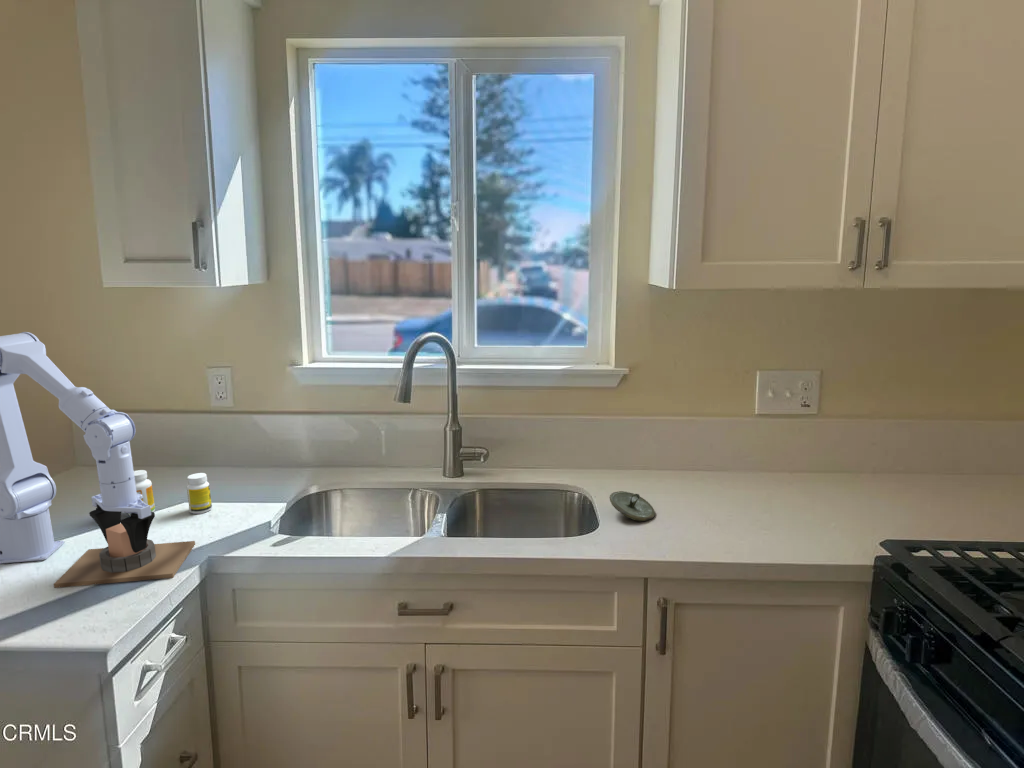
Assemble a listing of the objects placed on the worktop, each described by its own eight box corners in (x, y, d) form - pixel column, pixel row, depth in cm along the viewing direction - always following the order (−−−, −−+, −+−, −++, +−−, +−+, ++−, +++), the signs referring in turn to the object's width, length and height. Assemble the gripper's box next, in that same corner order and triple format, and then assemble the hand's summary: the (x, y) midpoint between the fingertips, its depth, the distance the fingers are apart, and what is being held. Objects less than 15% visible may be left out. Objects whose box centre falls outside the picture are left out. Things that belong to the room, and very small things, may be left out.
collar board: (54, 587, 120) (51, 571, 120) (89, 553, 134) (86, 537, 133) (173, 577, 124) (170, 561, 123) (195, 544, 137) (193, 529, 136)
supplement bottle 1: (149, 506, 157) (143, 467, 155) (159, 512, 154) (154, 471, 152) (124, 513, 153) (118, 473, 151) (134, 519, 150) (128, 478, 148)
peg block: (110, 563, 128) (105, 529, 126) (132, 553, 132) (127, 520, 130) (125, 568, 126) (120, 533, 124) (147, 558, 130) (142, 524, 128)
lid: (619, 502, 156) (619, 482, 155) (661, 510, 151) (661, 489, 150) (602, 518, 147) (602, 497, 146) (645, 527, 142) (646, 505, 141)
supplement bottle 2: (215, 509, 155) (211, 475, 153) (194, 516, 152) (190, 480, 150) (206, 504, 158) (202, 470, 156) (186, 510, 155) (182, 476, 153)
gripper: (162, 477, 125) (170, 545, 128) (113, 467, 132) (122, 531, 135) (126, 490, 119) (136, 560, 122) (76, 478, 126) (87, 545, 129)
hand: (126, 546), depth 128 cm, fingers open, 7 cm apart
